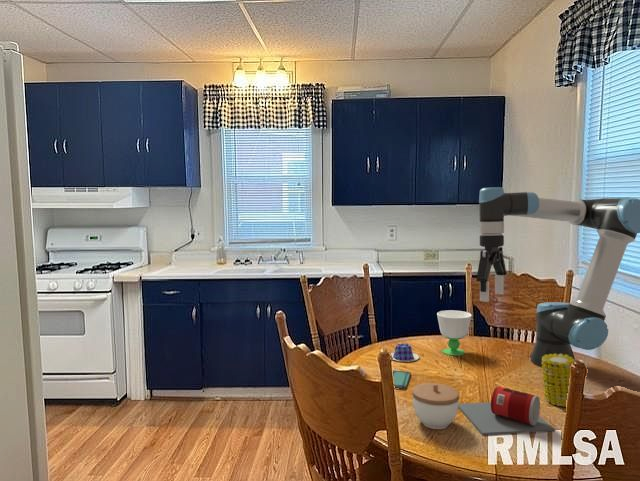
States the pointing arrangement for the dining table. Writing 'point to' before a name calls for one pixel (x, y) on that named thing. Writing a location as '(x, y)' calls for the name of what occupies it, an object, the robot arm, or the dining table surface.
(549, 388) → the food
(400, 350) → the pudding
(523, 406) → the canned food
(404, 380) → the smartphone
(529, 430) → the rubber mat
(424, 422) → the lidded bowl
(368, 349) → the dining table surface
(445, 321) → the cup
